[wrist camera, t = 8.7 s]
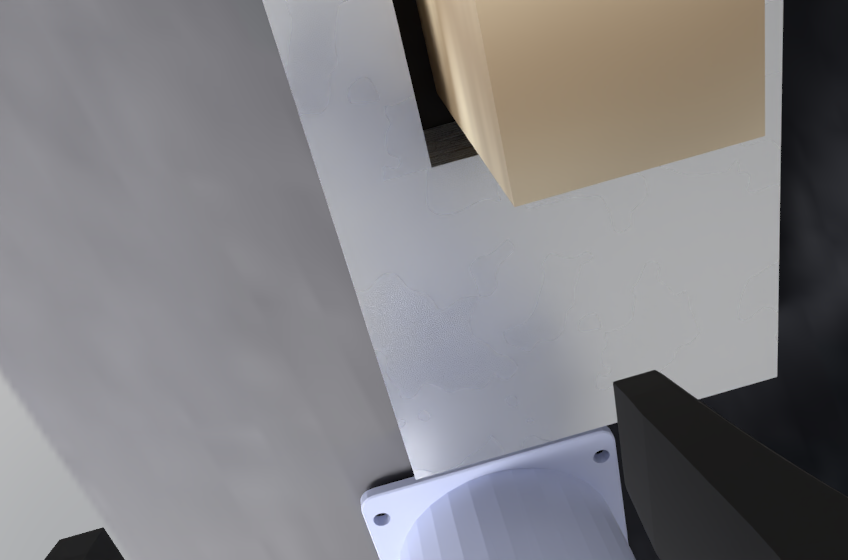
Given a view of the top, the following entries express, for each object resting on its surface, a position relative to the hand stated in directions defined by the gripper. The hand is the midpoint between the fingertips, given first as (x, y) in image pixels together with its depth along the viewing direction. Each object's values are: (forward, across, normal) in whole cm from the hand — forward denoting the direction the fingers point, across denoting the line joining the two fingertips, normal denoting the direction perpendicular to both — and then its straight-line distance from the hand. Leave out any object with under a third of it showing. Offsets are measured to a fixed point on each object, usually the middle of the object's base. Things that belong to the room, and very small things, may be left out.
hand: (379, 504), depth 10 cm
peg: (+10, -5, -4) cm, 12 cm away
